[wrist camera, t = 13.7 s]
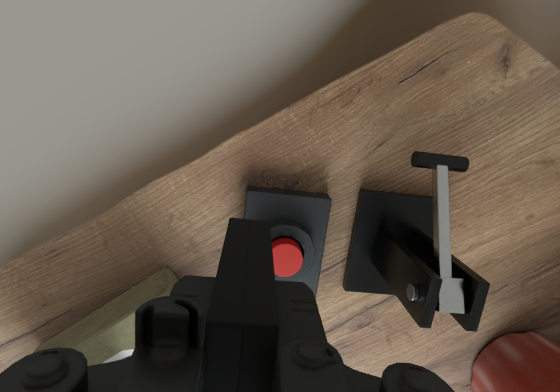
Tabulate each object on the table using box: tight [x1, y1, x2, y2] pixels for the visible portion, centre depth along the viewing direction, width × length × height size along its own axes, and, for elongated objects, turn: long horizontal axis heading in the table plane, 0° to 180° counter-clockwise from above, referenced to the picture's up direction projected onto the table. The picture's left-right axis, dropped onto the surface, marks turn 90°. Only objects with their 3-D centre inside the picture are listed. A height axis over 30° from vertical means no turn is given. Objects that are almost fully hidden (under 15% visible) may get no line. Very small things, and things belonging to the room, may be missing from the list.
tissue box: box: [32, 267, 179, 366], centre depth 36 cm, size 19×10×16 cm, turn 122°
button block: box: [244, 186, 332, 299], centre depth 40 cm, size 12×9×4 cm
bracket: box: [343, 189, 490, 331], centre depth 36 cm, size 12×10×14 cm
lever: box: [411, 151, 469, 314], centre depth 33 cm, size 14×5×2 cm, turn 171°
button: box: [272, 238, 303, 277], centre depth 38 cm, size 4×4×2 cm
